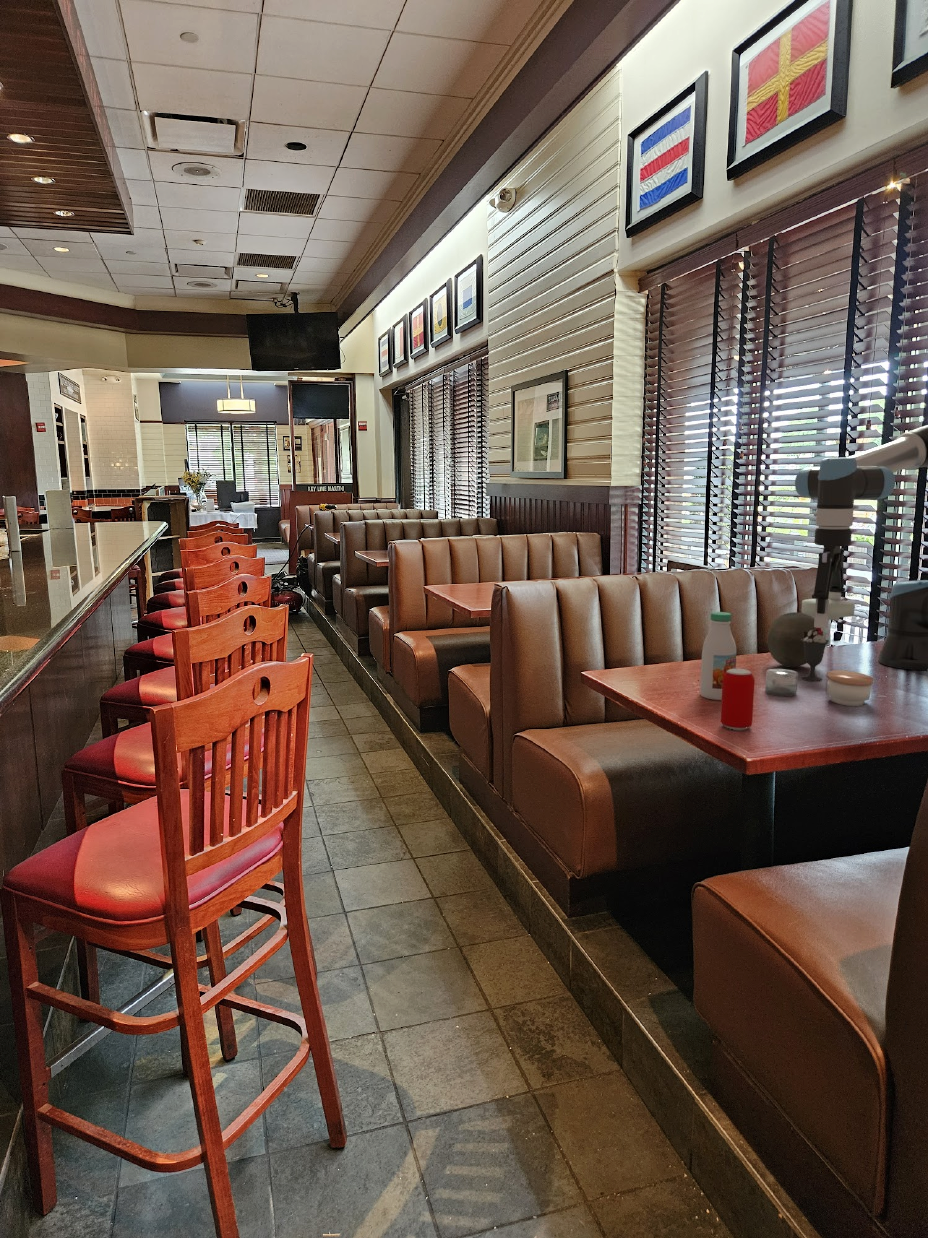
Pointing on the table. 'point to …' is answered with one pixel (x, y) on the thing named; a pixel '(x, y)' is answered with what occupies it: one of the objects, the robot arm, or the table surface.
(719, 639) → the milk bottle
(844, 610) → the lid
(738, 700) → the beverage can
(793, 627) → the cantaloupe
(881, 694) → the table surface
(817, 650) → the sundae
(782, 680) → the lid stand
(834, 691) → the bowl
